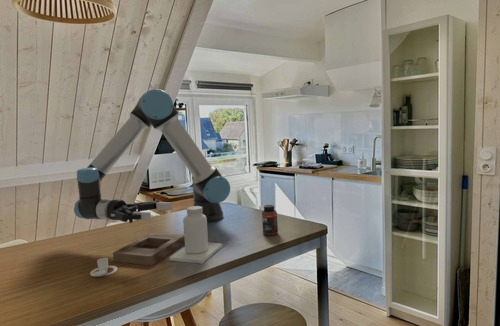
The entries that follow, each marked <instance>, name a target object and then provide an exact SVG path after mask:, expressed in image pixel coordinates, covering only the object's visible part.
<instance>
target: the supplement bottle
mask: <svg viewBox="0 0 500 326" xmlns="http://www.w3.org/2000/svg"><path fill="white" fill-rule="evenodd" d="M261 222H262V224H261V225H262V234H263V235H265V236H270V237H272V236H275V235H277V234H278V233H279V226H278V212H277V210H275V205H274V204H265V205H264V206H263V211H261Z"/></svg>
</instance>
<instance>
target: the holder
mask: <svg viewBox="0 0 500 326" xmlns="http://www.w3.org/2000/svg"><path fill="white" fill-rule="evenodd" d="M183 245H185V239H184V233H181V234H180V233H165V232H153V231H152V232H150V233H148V234H146V235H144V236H142V237H141V238H139V239H136V240H135V241H133V242H131V243H129V244H127V245H125V246H123V247H121V248H119V249H116V251H113V252H112V257H113V262H116V263H117V262H118V263H125V264H134V265H135V264H136V265H145V266H154V265H155V264H156V263H158V262H159V261H161V260H162V259H164V258H165V257H167V256H168V255H169V254H172V253H173V252H174V251H176V250H177V249H178V248H180V247H182V246H183ZM149 246H152V247H157V248H147V247H149Z"/></svg>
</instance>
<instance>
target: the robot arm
mask: <svg viewBox="0 0 500 326" xmlns="http://www.w3.org/2000/svg"><path fill="white" fill-rule="evenodd" d="M179 115H180V113H179V111H178V110H177V109H176V107H175V105H174V102H173V99H172V97H171V95H170V94H169V93H167V91H165V90H162V89H159V88H158V89H157V88H151V89H149V90H147V91H146V92H144V93H143V94H142V95H141V97H140V98H139V100H138V101H137V103H136V105H135V106H134V108H133V109H132V110H131V111H130V113H129V118H128V119H127V120H126V122H125V123H123V125H122V126H121V127H120V128H119V129H118V130H117V132H115V134H114V135H113V136H112V138H111V139H110V140H109V141H108V142H107V144H105V146H104V147H103V148H102V150H100V152H99V153H98V154H97V155H96V156H95V158H94V159H93V160H92V161H91V162H90V164H89V165H88V166H87V167H84V168H78V169H77V170H76V181H77V188H78V194H79V198H78V200H77V201H76V202H75V204H74V207H73V213H74V215H75V216H76V217H77V218H80V219H84V220H105V221H106V222H107V221H121V222H124V223H127V222H128V223H129V224H132V223H133V222H134V221H146V222H148V221H152V215H151V213H152V212H151V210H152V211H153V210H156V211H173V210H174V207H173V202H168V201H167V202H164V201H163V202H161V201H160V200H159V199H158V200H157V199H156V200H155V201H154V200H151V201H143V202H142V201H141V202H140V201H139V202H135V201H134V202H133V203H126V201H125V200H124V199H114V198H113V199H107V198H106V199H104V198H103V199H102V193H101V192H102V191H101V181H102V180H103V179H104V178H105V177H106V176H107V174H108V173H109V171H110V170H111V169H112V168H113V167H114V165H116V163H118V161H119V160H120V158H121V157H122V156H124V154H125V153H126V152H127V150H128V149H129V148H130V146H132V144H133V143H134V142H135V141H136V140H137V139H138V138H139V137H140V135H141V134H142V133H143V131H144V130H146V129H149V128H150V127H151V126H152V128H154V130H156V131H157V130H158V131H160V132H161V133H162V134H163V136H164V137H165V139H166V141H167V142H168V143H169V144H170V146H171V147H172V149H173V151H174V152H175V153H176V154H177V155H178V157H179V159H180V160H181V161H182V163H183V164H184V166H185V167H186V169H187V170H188V171H189V172H190V174H191V180H192V194H193V206H201V207H202V208H203V213H202V214H204V215H205V216H206V218H207V223H211V222H215V221H219V220H222V219H223V218H224V211H223V209H222V206H221V203H223V202H224V201H225V200H226V199H228V197H229V195H230V193H231V184H230V182H229V181H228V179H227V178H225V177H224V176H223V175H222V174H221V172H220V171H219V170H218V168H217V166H215V165H214V166H213V165H211V164H210V163H209V161H208V160H207V159H206V156H205V155H204V154H203V153H202V151H201V149H200V148H199V147H198V146H197V144H196V142H195V141H194V140H193V139H192V137H191V135H190V134H189V132H188V131H187V129H186V128H185V127H184V125H183V123H182V122H181V121H180V119H179ZM149 211H150V212H149Z"/></svg>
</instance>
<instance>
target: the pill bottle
mask: <svg viewBox="0 0 500 326" xmlns="http://www.w3.org/2000/svg"><path fill="white" fill-rule="evenodd" d="M202 213H203V208H202V207H201V206H188V207H187V208H186V215H185V216H184V217H183V235H184V239H185V244H184V247H185V250H186V252H187V253H191V254H198V253H203V252H205V251H207V250H208V242H209V234H208V222H207V218H206V216H205V215H204V214H202Z"/></svg>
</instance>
